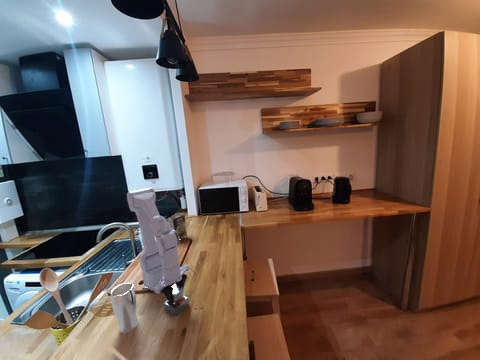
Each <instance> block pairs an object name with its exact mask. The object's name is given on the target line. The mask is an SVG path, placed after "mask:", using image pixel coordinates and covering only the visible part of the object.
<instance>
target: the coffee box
mask: <svg viewBox="0 0 480 360" xmlns="http://www.w3.org/2000/svg"><path fill="white" fill-rule="evenodd" d="M167 219H168V221H167V222H168V225H169V227H170V228H173V230H175V231H176V232H177V234H178V237H179V239H182V238H185V237H187V238H188V232H187V231H188V230H187V224H186V216H185V214H181V213H178V214H174V215H173V216H170V217H167ZM185 239H186V238H185Z"/></svg>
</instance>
